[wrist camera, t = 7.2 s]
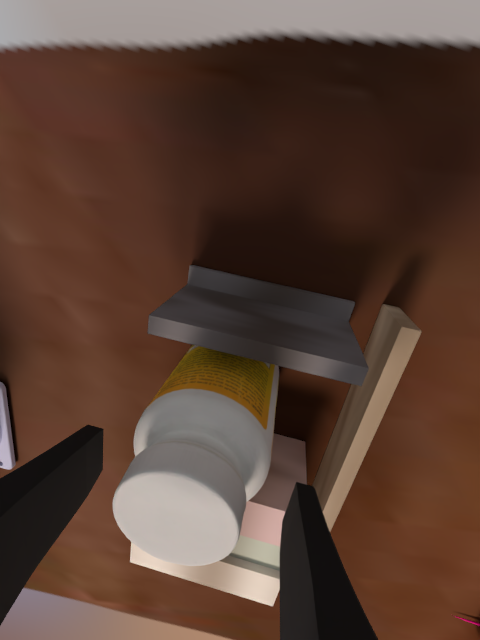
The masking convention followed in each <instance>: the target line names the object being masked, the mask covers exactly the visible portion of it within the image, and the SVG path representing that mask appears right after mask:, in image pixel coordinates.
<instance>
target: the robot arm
mask: <svg viewBox="0 0 480 640" xmlns="http://www.w3.org/2000/svg"><path fill="white" fill-rule="evenodd" d="M14 466H15V455H14V447H13V440H12V432H11V424H10V416H9V409H8V401H7V393H6V387H5V385H4V384H3V383H2V382H0V468H4V469H8V470H9V469H12V468H13V467H14ZM102 469H103V429H102V428H98V427H94V426H91V425H87V426H85V427H83V428H82V429H80V430H79V431H77V432H75V433H74V434H72V435H71V436H69V437H68V438H66V439H65V440H63V441H61V442H60V443H58V444H57V445H55V446H54V447H52V448H50V449H49V450H47V451H46V452H44V453H42V454H41V455H39V456H38V457H36V458H34V459H33V460H31V461H29V462H28V463H26V464H25V465H23V466H21V467H20V468H18V469H16V470H14V471H13V472H11V473H9V474H7V475H5V476H4V477H2V478H0V625H1V623H2V622H3V620H4V618H5V617H6V615H7V613H8V612H9V610H10V608H11V607H12V605H13V603H14V602H15V600H16V599H17V597H18V595H19V594H20V592H21V590H22V589H23V587H24V586H25V584H26V582H27V581H28V579H29V578H30V576H31V575H32V573H33V572H34V570H35V569H36V567H37V566H38V564H39V563H40V561H41V560H42V559H43V557H44V556H45V555H46V553H47V552H48V550H49V549H50V548H51V546H52V545H53V543H54V542H55V541H56V539H57V538H58V537H59V535H60V534H61V532H62V531H63V530H64V528H65V527H66V526H67V524H68V523H69V521H70V520H71V519H72V517H73V516H74V514H75V513H76V512H77V510H78V509H79V507H80V506H81V505H82V503H83V502H84V500H85V499H86V497H87V496H88V494H89V492H90V491H91V489H92V487H93V486H94V484H95V482H96V480H97V478H98V477H99V475H100V473H101V471H102ZM280 640H378V638H377V636H376V634H375V632H374V631H373V629H372V627H371V625H370V623H369V621H368V619H367V617H366V615H365V613H364V611H363V609H362V607H361V604H360V602H359V600H358V598H357V596H356V594H355V592H354V589H353V587H352V585H351V583H350V580H349V578H348V576H347V574H346V571H345V569H344V567H343V564H342V562H341V559H340V557H339V554H338V552H337V549H336V547H335V544H334V542H333V539H332V537H331V534H330V531H329V529H328V526H327V523H326V520H325V517H324V515H323V512H322V509H321V506H320V502H319V499H318V496H317V493H316V489H315V488H314V486H310V485H306V484H303V483H299V482H296V484H295V487H294V489H293V492H292V495H291V498H290V501H289V503H288V506H287V509H286V512H285V515H284V517H283V520H282V531H281V542H280Z"/></svg>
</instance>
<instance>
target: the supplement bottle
mask: <svg viewBox="0 0 480 640" xmlns="http://www.w3.org/2000/svg"><path fill="white" fill-rule="evenodd" d="M278 385H279V367H278V366H277V365H273V364H269V363H265V362H261V361H257V360H253V359H249V358H245V357H241V356H237V355H233V354H229V353H225V352H221V351H217V350H213V349H209V348H205V347H201V346H197V345H192V346H191V348H190V349H189V350H188V352H187V353H186V354H185V356H184V357H183V359H182V360H181V361H180V363H179V364H178V366H177V367H176V368H175V369H174V371H173V372H172V374H171V375H170V376H169V378H168V379H167V381H166V382H165V383H164V385H163V386H162V387H161V389H160V390H159V392H158V393H157V394H156V396H155V397H154V399H153V400H152V401H151V402H150V404H149V405H148V406H147V408H146V409H145V411H144V412H143V414H142V416H141V418H140V420H139V422H138V424H137V427H136V430H135V435H134V453H135V458H134V459H133V461H132V462H131V463H130V466H129V468H128V470H127V471H126V473H125V475H124V477H123V478H122V480H121V482H120V484H119V485H118V487H117V490H116V492H115V495H114V498H113V512H114V517H115V519H116V522H117V524H118V526H119V527H120V529H121V531H122V532H123V533H124V534H125V535H126V537H127V538H128V539H129V540H130V541H131V542H132V543H134V544H135V545H136V546H137V547H139V548H140V549H142V550H143V551H145V552H146V553H148V554H150V555H151V556H153V557H156V558H158V559H161V560H163V561H166V562H170V563H174V564H180V565H186V566H203V565H208V564H212V563H215V562H217V561H220V560H222V559H223V558H225V557H226V556H228V555H229V554H230V553H231V552H232V550H233V549H234V548H235V546H236V544H237V542H238V539H239V536H240V531H241V526H242V520H243V515H244V512H245V509H246V502H247V501H249V500H250V499H251V498H252V497H253V496H255V494H256V493H257V492H258V491H259V490H260V488H261V487H262V486H263V484H264V482H265V480H266V478H267V475H268V472H269V468H270V463H271V455H272V445H273V435H274V424H275V412H276V403H277V394H278Z"/></svg>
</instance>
